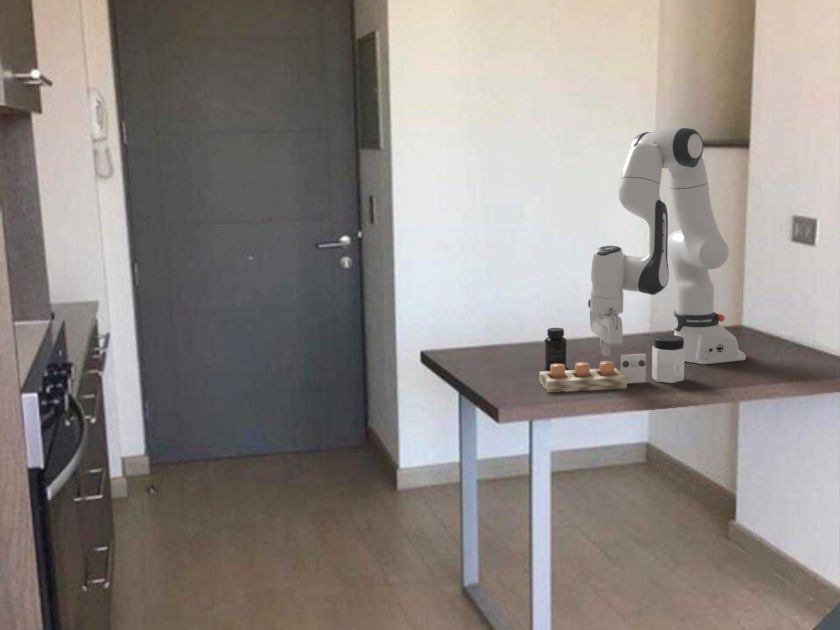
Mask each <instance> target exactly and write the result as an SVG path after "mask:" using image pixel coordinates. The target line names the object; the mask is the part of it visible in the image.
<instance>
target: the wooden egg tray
mask: <svg viewBox="0 0 840 630" xmlns="http://www.w3.org/2000/svg"><path fill="white" fill-rule="evenodd" d="M538 373H539V374H538V380H539V381H538V382H539V384H540V385H541V384H542V385H541V386H542V387H543V388H544V390H545V389H546V390H547V391H546V390H545V391H546V392H547V393H560V391H561V392H562V391H564V392H579V391H580V390H583V391H601V390H621V389H627V388H628V383H627V377H625V376H624V375H623V374H622V373H621V370H619V369H617V368H616V367H614V374H613V375H602V374H600V368H590V375H589V376H576V375H575V369H565V377H561V378H554V377H551V376H550V370H545V371H543V370H542V371H539V372H538ZM580 392H581V391H580Z"/></svg>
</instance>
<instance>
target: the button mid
mask: <svg viewBox="0 0 840 630" xmlns="http://www.w3.org/2000/svg"><path fill="white" fill-rule="evenodd" d="M590 369H591V365H590V363H588V362H584V361H581V362H575V363H574V370H575V375H576V376H589V375H590Z"/></svg>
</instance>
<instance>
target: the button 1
mask: <svg viewBox="0 0 840 630" xmlns="http://www.w3.org/2000/svg"><path fill="white" fill-rule="evenodd" d="M565 370H566V369H565V365H564V364H551V365H550V370H549V371H550V376H551V377H554V378H561V377H565Z"/></svg>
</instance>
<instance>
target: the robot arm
mask: <svg viewBox="0 0 840 630" xmlns="http://www.w3.org/2000/svg"><path fill="white" fill-rule="evenodd" d="M703 141H704V140H703V139H702V136H701V134H700V133H699V132H698V131H697V130H696V129H693V128H689V127H683V128H664V129H663V128H662V130H661V129H659V130H655V131H650V132H649V131H646V132H645V131H644V132H642V133H640V134H638V135H636V137H634V138H633V140H632V142H631V144H630V148H629V151H628V153H627V156H626V159H625V162H624V165H623V169H622V171H621V177H620V181H619V186H618V187H619V188H618V200H619V202H620V205H622V206H623V208H624V209H625V210H626V211H628V212H629V213H630V214H631V213H632V214H633V215H636V216H637V217H639V218H641V219H643V220H645V222H646V223H647V225H648V227H649V240H648V242H649V243H648V255H647V256H646V257H643V256H632V255H627V254H624V253H623V249H622V248H621V247H620V246H617V245H605V246H603V245H602V246H601V247H598V248H596V249H595V250H594V253H593V256H592V261H591V272H590V273H591V274H590V275H591V276H590V281H591V284H592V286H591V287H592V288H591V292H590V298H589V299H588V301H587V307H588V308H589V325H590V330H591V331H592V333H594V334H595V336H597V337H598V338H599V342H600V347H601V354H602V355H603V356H605V357H609V356H611V349H612V346H613V347H614V346H615V347H616V346H619V347H620V346H622V344H623V340H624V339H623V320H622V317H621V316H619V315H620V314H622V313H623V312H624V291H629V292H638V293H642V294H646V295H650V296H651V295H652V296H654V295H656V294H659V293H660V292H661V291H663V290H664V289H665V288H666V287H667V285H668V283H669V277H670V275H669V274H670V273H669V272H670V271H669V263H668V256H669V259H670V261H671V266H672V272H673V277H674V281H675V282H674V283H675V290H676V291H675V311H674V314H673V330H674V334H673V335H676V336H680V337H683V338H684V345H683V348H685V358H684V363H685V362H686V363H694V364H699V365H709V364H712V365H713V364H719V363H730V362H738V361H739V362H740V361H745V360H746V359H747V355H746V354H745V353H744V352H743V351H741V350H739V343H738V340H737V337H736V336H735V335H734V334H733V333H731V332H730V331H729V330H727V329H726V328H725V327H724V326H723V325H721V324H720V322H721V323H723V322H725V320H726V317H725V315H723V314H721V313H717V312H715V311H714V308H715V307H714V305H715V304H714V303H715V287H714V284H713V282H712V281H711V278H710V273H709V271H708V270H716V269H719V268H721V267H722V266H723V265H725V263H726V262H727V260H728V257H729V251H730V249H729V246H728V244H727V242H726V241H725V239H724V238H723V237H722V235H721V233H720V229H719V227H718V224H717V222H716V219H715V216H714V213H713V209H712V203H711V198H710V189H709V181H708V174H707V169H706V165H705V162H704V158H703V156H702V155H703V152H704V142H703ZM663 169H667V170H668V186H669V194H670V201H671V210H672V214H673V216H674V218H675V219H676V222H677V223H678V225H679V228H680V229H677V230H675V231H673V232H671V233H670V234H669V233H668V232H669V228H668V227H669V218H668V216H669V215H668V209H667V205H666V203H665V202H663V201H662V199H661V195H660V187H661V182H662V181H661V180H662V172H663ZM668 235H669V236H668Z"/></svg>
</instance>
